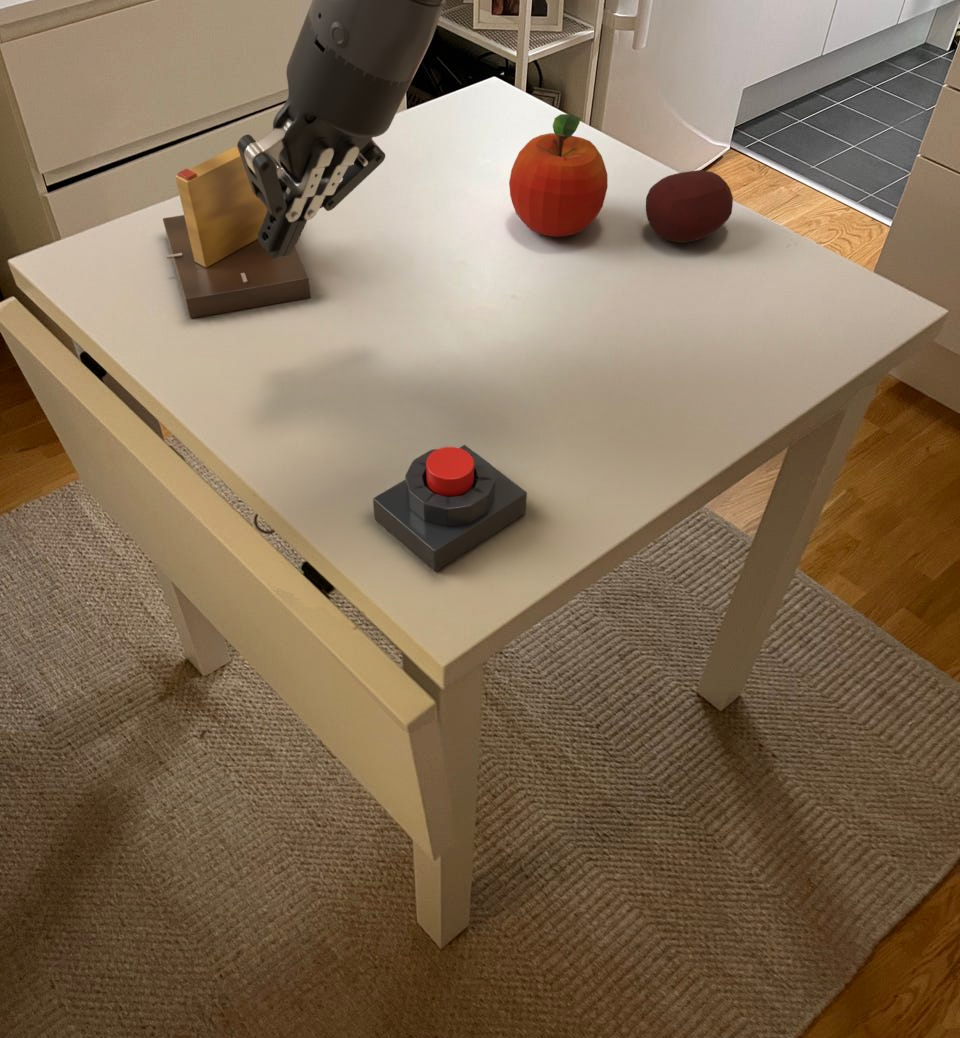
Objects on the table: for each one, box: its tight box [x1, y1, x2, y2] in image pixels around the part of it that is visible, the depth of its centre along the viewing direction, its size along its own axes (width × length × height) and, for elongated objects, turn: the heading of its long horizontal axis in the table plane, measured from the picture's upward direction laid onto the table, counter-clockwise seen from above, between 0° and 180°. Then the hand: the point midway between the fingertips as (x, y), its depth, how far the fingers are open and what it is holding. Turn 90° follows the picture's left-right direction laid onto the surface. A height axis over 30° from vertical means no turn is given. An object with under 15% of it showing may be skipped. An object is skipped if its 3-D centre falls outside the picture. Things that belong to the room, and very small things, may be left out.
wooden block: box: [175, 145, 267, 268], centre depth 89 cm, size 8×2×8 cm, turn 141°
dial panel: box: [162, 207, 311, 319], centre depth 93 cm, size 14×12×2 cm
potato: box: [645, 169, 734, 243], centre depth 97 cm, size 8×9×6 cm
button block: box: [372, 444, 528, 572], centre depth 73 cm, size 9×7×4 cm
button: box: [426, 446, 474, 497], centre depth 71 cm, size 3×3×2 cm
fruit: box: [508, 113, 609, 238], centre depth 96 cm, size 10×10×10 cm
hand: (272, 249), depth 76 cm, fingers closed
